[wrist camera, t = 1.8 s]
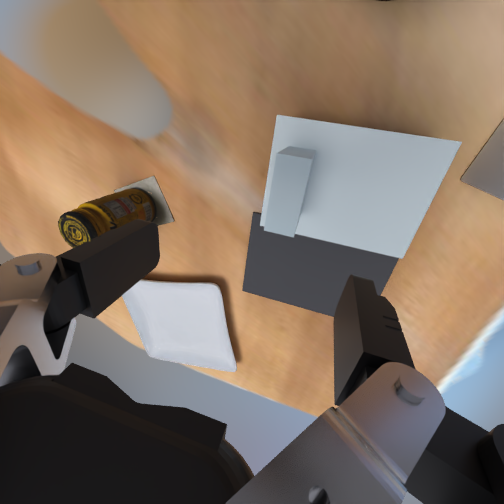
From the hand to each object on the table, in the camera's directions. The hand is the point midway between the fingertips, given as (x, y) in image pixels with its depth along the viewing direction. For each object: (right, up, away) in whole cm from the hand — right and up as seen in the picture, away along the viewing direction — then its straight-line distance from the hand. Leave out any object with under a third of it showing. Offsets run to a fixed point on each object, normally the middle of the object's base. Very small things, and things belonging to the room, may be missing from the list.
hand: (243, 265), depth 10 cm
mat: (+9, -2, +26) cm, 28 cm away
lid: (+9, +7, +15) cm, 19 cm away
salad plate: (-13, -12, +40) cm, 44 cm away
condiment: (-17, +8, +30) cm, 35 cm away
